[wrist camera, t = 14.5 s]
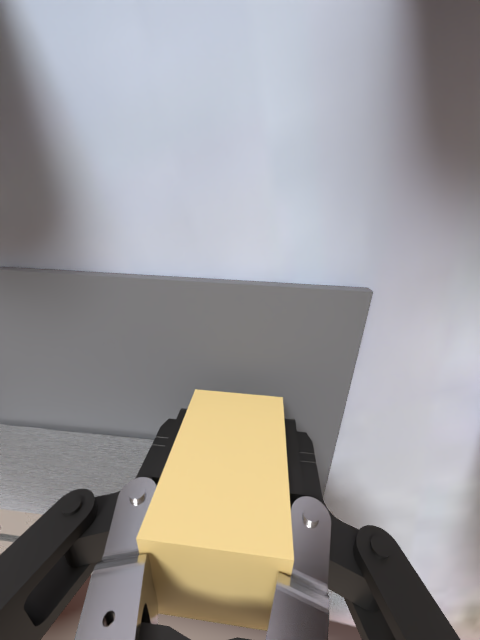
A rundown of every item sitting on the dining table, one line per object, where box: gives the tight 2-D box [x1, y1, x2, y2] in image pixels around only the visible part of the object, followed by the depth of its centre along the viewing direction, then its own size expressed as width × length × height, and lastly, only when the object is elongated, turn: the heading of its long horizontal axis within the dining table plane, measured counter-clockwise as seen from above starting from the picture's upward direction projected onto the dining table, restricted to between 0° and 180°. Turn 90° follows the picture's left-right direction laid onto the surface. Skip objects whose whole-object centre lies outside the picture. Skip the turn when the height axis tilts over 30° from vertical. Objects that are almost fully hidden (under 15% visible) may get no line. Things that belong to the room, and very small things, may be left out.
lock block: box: [136, 389, 294, 631], centre depth 10 cm, size 4×4×6 cm
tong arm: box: [0, 424, 154, 536], centre depth 14 cm, size 19×2×4 cm, turn 88°
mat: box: [0, 267, 373, 497], centre depth 16 cm, size 25×18×1 cm
